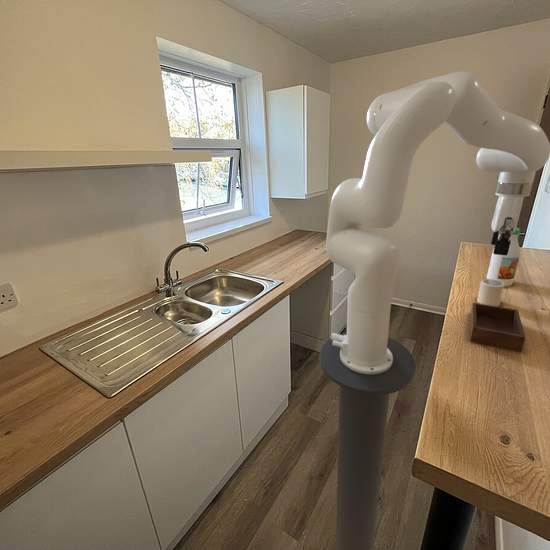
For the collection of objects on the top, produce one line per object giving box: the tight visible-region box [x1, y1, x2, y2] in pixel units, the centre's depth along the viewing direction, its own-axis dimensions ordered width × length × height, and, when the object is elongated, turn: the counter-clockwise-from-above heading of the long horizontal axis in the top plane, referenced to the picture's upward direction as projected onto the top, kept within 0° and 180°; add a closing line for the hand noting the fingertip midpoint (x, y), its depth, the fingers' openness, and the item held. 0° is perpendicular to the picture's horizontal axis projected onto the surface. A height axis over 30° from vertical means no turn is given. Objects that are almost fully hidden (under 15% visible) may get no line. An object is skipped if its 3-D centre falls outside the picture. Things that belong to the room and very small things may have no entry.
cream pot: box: [476, 278, 505, 307], centre depth 94 cm, size 6×6×7 cm
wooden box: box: [469, 302, 526, 353], centre depth 81 cm, size 11×15×4 cm
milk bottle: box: [485, 227, 521, 287], centre depth 104 cm, size 8×8×20 cm
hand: (498, 249), depth 88 cm, fingers open, 9 cm apart
